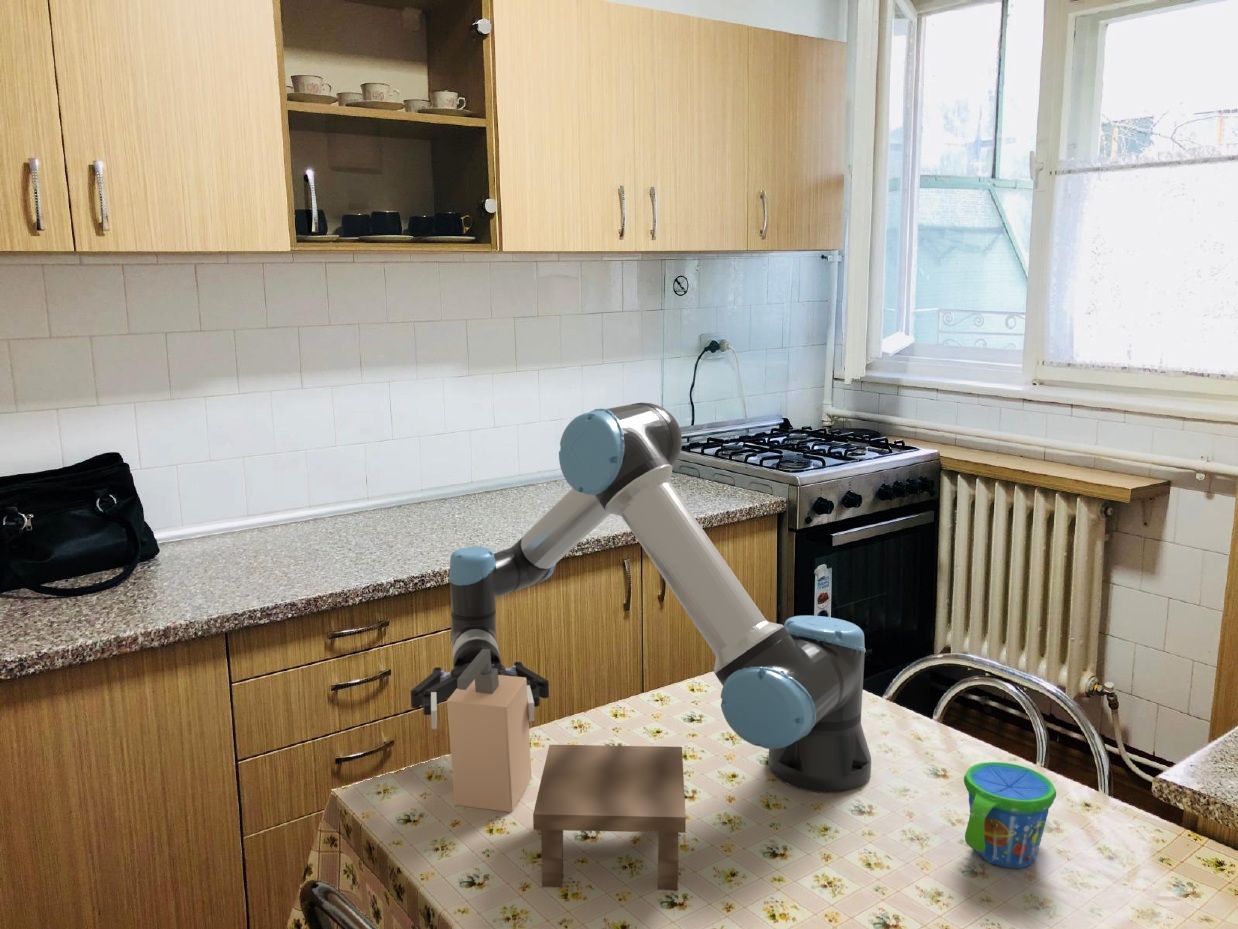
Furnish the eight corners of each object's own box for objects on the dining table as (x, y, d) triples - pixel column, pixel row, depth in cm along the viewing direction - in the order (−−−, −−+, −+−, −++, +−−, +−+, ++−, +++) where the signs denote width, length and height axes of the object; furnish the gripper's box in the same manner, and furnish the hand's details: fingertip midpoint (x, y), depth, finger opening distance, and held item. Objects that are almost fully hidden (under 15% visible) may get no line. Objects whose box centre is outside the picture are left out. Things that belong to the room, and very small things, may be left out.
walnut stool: (681, 814, 136) (681, 746, 134) (684, 894, 118) (685, 817, 117) (550, 812, 137) (549, 744, 135) (534, 891, 119) (533, 814, 117)
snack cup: (1006, 817, 135) (1011, 748, 133) (1078, 854, 127) (1084, 780, 125) (930, 853, 127) (934, 780, 125) (1001, 895, 118) (1007, 817, 116)
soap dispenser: (477, 771, 147) (467, 634, 141) (532, 778, 145) (524, 639, 139) (442, 823, 135) (430, 676, 129) (501, 831, 133) (492, 682, 127)
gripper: (553, 676, 163) (571, 733, 142) (398, 688, 158) (393, 748, 138) (553, 633, 162) (571, 684, 141) (396, 643, 157) (391, 697, 137)
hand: (483, 716), depth 139 cm, fingers open, 13 cm apart
